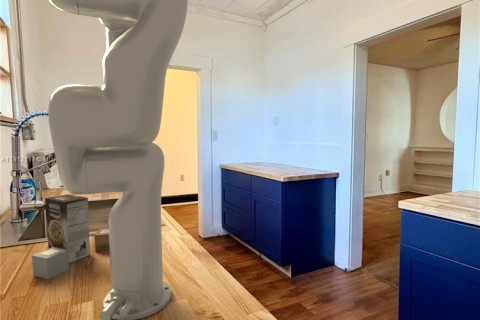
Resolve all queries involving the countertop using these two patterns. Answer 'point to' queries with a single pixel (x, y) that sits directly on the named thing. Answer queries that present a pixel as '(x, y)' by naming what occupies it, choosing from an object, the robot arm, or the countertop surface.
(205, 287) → the countertop surface
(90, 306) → the countertop surface
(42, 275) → the slate block
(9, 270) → the countertop surface
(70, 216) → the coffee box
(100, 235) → the walnut block
